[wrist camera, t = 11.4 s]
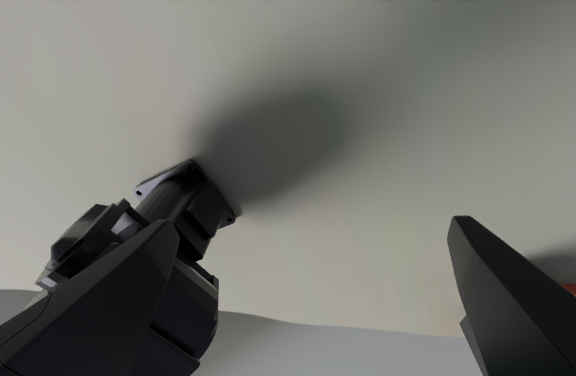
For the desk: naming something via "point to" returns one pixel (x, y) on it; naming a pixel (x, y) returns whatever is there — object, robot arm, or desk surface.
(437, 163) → the desk surface
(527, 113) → the desk surface
